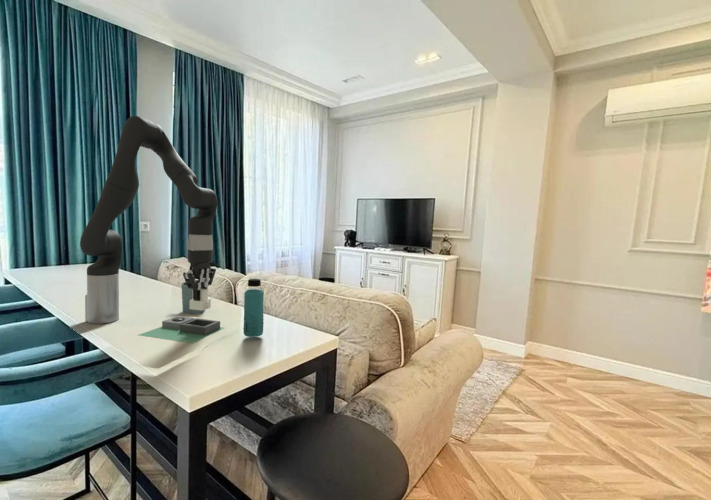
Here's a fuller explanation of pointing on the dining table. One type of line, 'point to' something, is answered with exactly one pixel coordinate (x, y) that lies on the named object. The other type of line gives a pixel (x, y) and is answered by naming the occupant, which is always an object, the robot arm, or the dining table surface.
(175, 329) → the board
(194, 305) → the plug
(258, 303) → the beverage bottle
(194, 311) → the grey-green tapered cup
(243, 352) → the dining table surface
